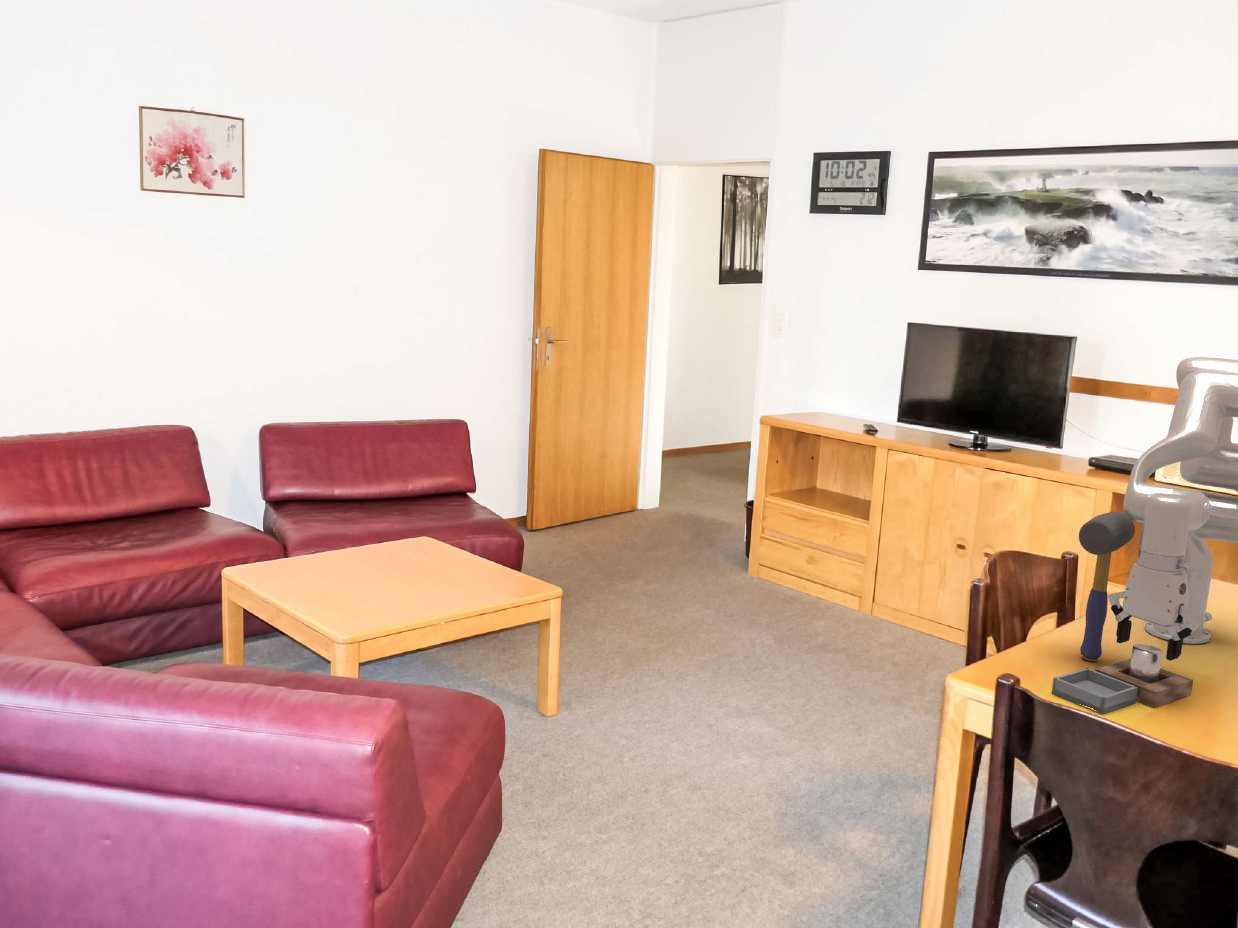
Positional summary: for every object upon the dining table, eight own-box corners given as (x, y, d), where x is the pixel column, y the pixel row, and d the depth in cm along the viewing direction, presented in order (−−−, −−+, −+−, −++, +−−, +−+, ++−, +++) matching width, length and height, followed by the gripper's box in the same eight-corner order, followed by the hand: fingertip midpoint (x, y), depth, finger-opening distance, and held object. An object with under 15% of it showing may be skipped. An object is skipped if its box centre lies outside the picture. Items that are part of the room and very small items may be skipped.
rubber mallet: (1097, 673, 206) (1118, 523, 200) (1058, 661, 211) (1077, 515, 205) (1120, 656, 215) (1140, 513, 209) (1082, 646, 220) (1101, 505, 214)
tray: (1085, 682, 201) (1087, 667, 200) (1135, 702, 192) (1138, 687, 192) (1051, 693, 195) (1053, 677, 195) (1102, 714, 187) (1104, 698, 186)
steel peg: (1136, 682, 202) (1142, 642, 201) (1161, 691, 198) (1168, 651, 196) (1121, 687, 199) (1127, 646, 198) (1146, 697, 195) (1152, 656, 194)
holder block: (1130, 672, 207) (1132, 657, 206) (1190, 694, 197) (1193, 679, 196) (1093, 683, 200) (1095, 668, 200) (1153, 707, 191) (1156, 692, 190)
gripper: (1218, 571, 189) (1204, 662, 192) (1127, 547, 203) (1115, 632, 206) (1195, 576, 184) (1181, 669, 188) (1104, 551, 199) (1092, 638, 202)
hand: (1146, 650), depth 197 cm, fingers open, 9 cm apart
